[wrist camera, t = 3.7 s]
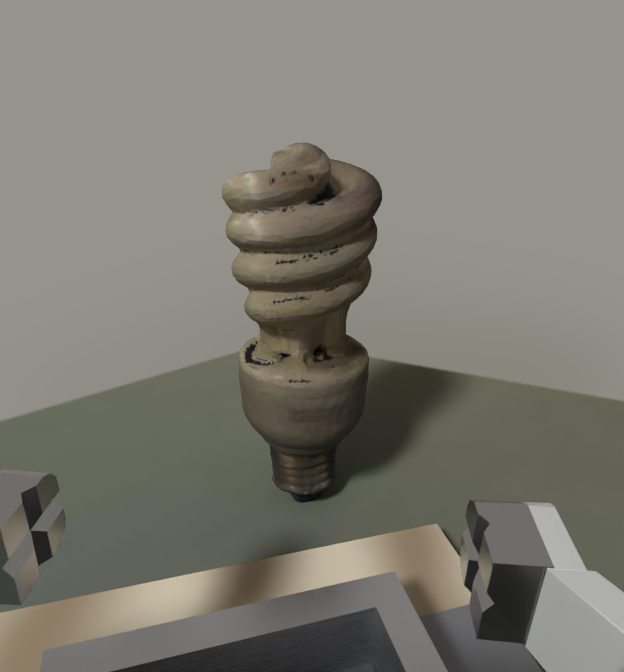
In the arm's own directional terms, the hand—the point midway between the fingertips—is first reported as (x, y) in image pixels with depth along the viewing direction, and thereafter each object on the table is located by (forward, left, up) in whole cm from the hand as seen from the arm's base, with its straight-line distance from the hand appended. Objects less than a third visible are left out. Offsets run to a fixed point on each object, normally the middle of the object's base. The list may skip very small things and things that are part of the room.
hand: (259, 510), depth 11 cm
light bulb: (-4, -10, -9) cm, 14 cm away
